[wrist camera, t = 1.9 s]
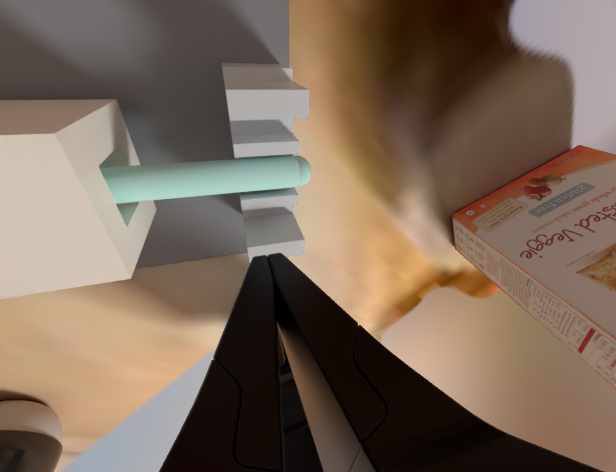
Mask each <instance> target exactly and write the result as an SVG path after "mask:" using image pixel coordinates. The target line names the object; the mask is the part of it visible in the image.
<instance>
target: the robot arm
mask: <svg viewBox="0 0 616 472" xmlns="http://www.w3.org/2000/svg"><path fill="white" fill-rule="evenodd" d="M213 358H214V359H213V360H212V361H211V364H210V366H209V369H208V371H207V374H206V376H205V379H204V381H203V383H202V386H201V388H200V390H199V393H198V395H197V397H196V399H195V402H194V404H193V406H192V408H191V410H190V412H189V414H188V416H187V418H186V420H185V422H184V424H183V426H182V428H181V430H180V432H179V434H178V436H177V438H176V440H175V442H174V444H173V446H172V448H171V450H170V452H169V453H168V455H167V457H166V459H165V461H164V463H163V465H162V467H161V469H160V471H159V472H603V471H601V470H598V469H596V468H593V467H591V466H588V465H586V464H583V463H581V462H578V461H576V460H573V459H571V458H568V457H565V456H563V455H560V454H558V453H555V452H553V451H550V450H548V449H545V448H542V447H540V446H537V445H535V444H532V443H530V442H527V441H525V440H522V439H520V438H517V437H515V436H512V435H510V434H508V433H506V432H504V431H502V430H500V429H497V428H496V427H494V426H492V425H490V424H488V423H487V422H485V421H483V420H482V419H480V418H478V417H477V416H475V415H473V414H472V413H471V412H469V411H468V410H467V409H465V408H464V407H463V406H461V405H460V404H459V403H457V402H456V401H454V400H453V399H452V398H450V397H449V396H448V395H446V394H445V393H444V392H443V391H441V390H440V389H438V388H437V387H436V386H434V385H433V384H432V383H431V382H429V381H428V380H427V379H425V378H424V377H423V376H421V375H420V374H419V373H417V372H416V371H415V370H413V369H412V368H411V367H409V366H408V365H407V364H405V363H404V362H403V361H402V360H400V359H399V358H398V357H397V356H395V355H394V354H393V353H391V352H390V351H389V350H388V349H386V348H385V347H384V346H383V345H382V344H381V343H380V342H379V341H377V340H376V339H375V338H374V337H373V336H372V335H370V334H369V333H368V332H367V331H366V330H365V329H364V328H363V327H362V326H361V325H358V323H357V322H356V321H355V320H354V319H353V318H352V317H351V316H350V315H349V314H347V313H346V312H345V311H344V310H343V309H342V308H341V307H340V306H339V305H338V304H337V303H336V302H334V301H333V300H332V299H331V298H330V297H329V296H328V295H327V294H326V293H325V292H324V291H322V290H321V289H320V288H319V287H318V286H317V285H316V284H315V283H314V282H313V281H312V280H310V279H309V278H308V277H307V276H306V275H305V274H304V273H303V272H302V271H301V270H300V269H298V268H297V267H296V266H295V265H294V264H293V263H292V262H291V261H290V260H289V259H288V258H286V257H285V256H284V255H283V254H282V253H274V254H269V255H268V257H267V256H266V255H261V256H255V257H253V258H252V260H251V263H250V265H249V268H248V270H247V273H246V276H245V278H244V281H243V283H242V286H241V288H240V291H239V293H238V296H237V298H236V301H235V303H234V306H233V308H232V311H231V313H230V316H229V319H228V321H227V324H226V326H225V329H224V331H223V334H222V336H221V339H220V341H219V344H218V346H217V349H216V351H215V354H214V357H213Z"/></svg>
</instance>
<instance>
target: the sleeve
mask: <svg viewBox="0 0 616 472" xmlns="http://www.w3.org/2000/svg"><path fill="white" fill-rule="evenodd" d="M135 165H140V162H139V160H138V157H137V154H136V151H135V149H134V146H133V143H132V140H131V138H130V135H129V132H128V129H127V127H126V124H125V121H124V118H123V115H122V113H121V110H120V107H119V104H118V102H117V99H89V100H0V299H3V298H9V297H16V296H22V295H29V294H35V293H42V292H48V291H55V290H61V289H68V288H74V287H81V286H87V285H94V284H100V283H107V282H113V281H120V280H126V279H131V277H132V274H133V272H134V269H135V266H136V264H137V261H138V258H139V256H140V253H141V250H142V247H143V245H144V242H145V239H146V237H147V234H148V231H149V229H150V226H151V223H152V220H153V218H154V215H155V212H156V210H157V209H156V207H155V204H154V201H153V200H150V201H139V202H128V203H117V204H116V203H115V201H114V199H113V197H112V194H111V192H110V190H109V188H108V186H107V184H106V181H105V179H104V177H103V175H102V173H101V171H100V169H99V168H103V167H119V166H135Z"/></svg>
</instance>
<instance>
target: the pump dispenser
mask: <svg viewBox="0 0 616 472" xmlns="http://www.w3.org/2000/svg"><path fill="white" fill-rule="evenodd" d="M61 438H62V426H61V422H60V419H59V417H58V416H57V414H56V413H55V412H54V411H53V410H52V409H50V408H49V407H47V406H45V405H43V404H40V403H36V402H32V401H25V400H8V401H0V472H54V470H55V468H56V466H57V463H58V461H59V458H60V456H61V453H62V445H61Z"/></svg>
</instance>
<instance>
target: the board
mask: <svg viewBox="0 0 616 472" xmlns="http://www.w3.org/2000/svg"><path fill="white" fill-rule="evenodd" d="M89 99H117V102H118V104H119V107H120V110H121V113H122V115H123V118H124V121H125V124H126V127H127V129H128V132H129V135H130V138H131V140H132V143H133V146H134V149H135V151H136V154H137V157H138V160H139V162H140V165H151V164H168V163H184V162H200V161H216V160H232V159H248V158H264V157H281V156H293V154H299V141H298V140H297V138H296V137H295V136H294V135H293V119H308V111H309V89H307V88H305V87H303V86H301V85H299V84H297V83H295V82H293V81H292V68H290V67H289V1H288V0H0V100H89ZM153 201H154V204H155V207H156V209H157V210H156V212H155V215H154V218H153V220H152V223H151V226H150V229H149V231H148V234H147V237H146V239H145V242H144V245H143V247H142V250H141V253H140V256H139V258H138V261H137V264H136V266H135V269H136V268H143V267H150V266H157V265H163V264H170V263H177V262H184V261H191V260H198V259H204V258H211V257H218V256H225V255H232V254H239V253H246V252H248V257H249V262H251V260H252V258H253V257H255V256H261V255H266V256H267V257H268V255H269V254H274V253H282V254H283V255H284V256H285V257H288V256H294V255H301V254H304V241H305V240H304V237H303V235H302V233H301V230H300V228H299V226H298V224H297V221H296V219H295V217H294V215H293V205H298V194H297V192H296V190H295V188H294V187H292V188H281V189H270V190H259V191H248V192H237V193H226V194H215V195H205V196H194V197H183V198H172V199H161V200H153Z"/></svg>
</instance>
